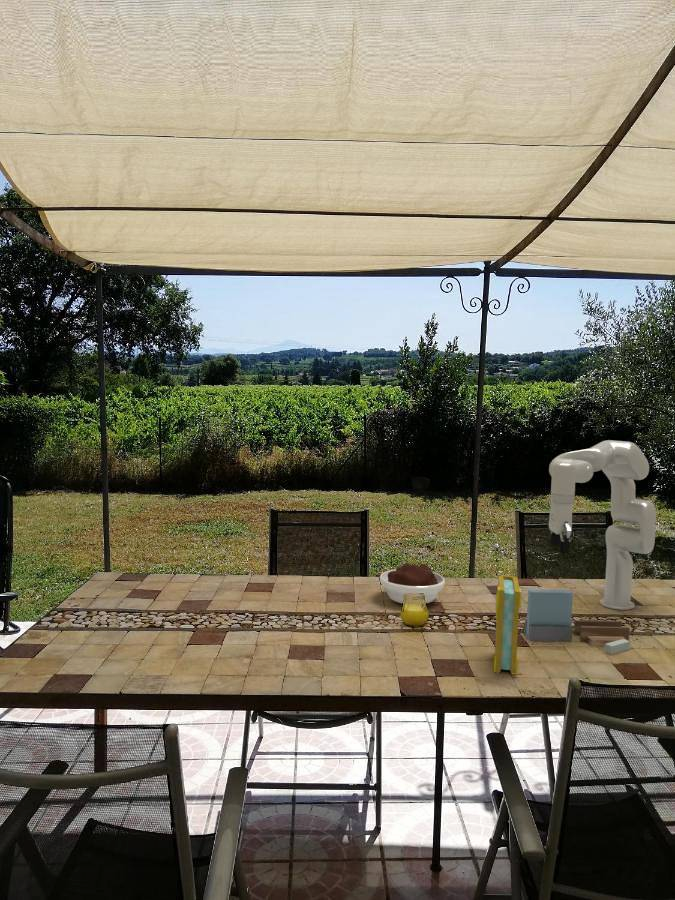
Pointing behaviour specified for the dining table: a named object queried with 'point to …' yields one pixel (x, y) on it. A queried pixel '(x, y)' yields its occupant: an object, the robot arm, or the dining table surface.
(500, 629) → the book
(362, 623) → the dining table surface
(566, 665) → the dining table surface
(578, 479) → the robot arm
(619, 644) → the offcut upper
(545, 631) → the grey rack
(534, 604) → the tall sheet
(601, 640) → the offcut lower
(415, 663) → the dining table surface
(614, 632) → the walnut rack
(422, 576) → the bowl of chocolate mousse
